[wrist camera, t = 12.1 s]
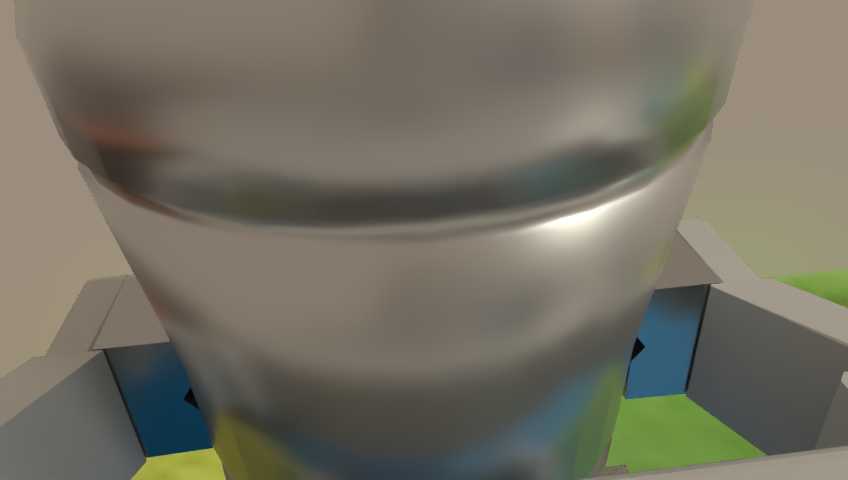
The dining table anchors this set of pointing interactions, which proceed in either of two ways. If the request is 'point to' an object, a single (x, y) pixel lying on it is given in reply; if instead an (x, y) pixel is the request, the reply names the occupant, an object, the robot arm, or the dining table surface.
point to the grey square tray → (615, 470)
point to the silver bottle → (393, 211)
